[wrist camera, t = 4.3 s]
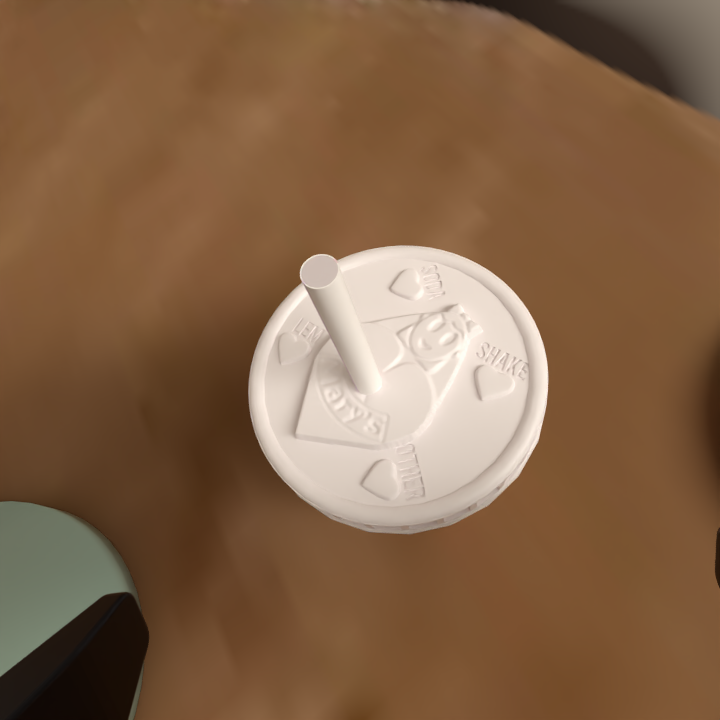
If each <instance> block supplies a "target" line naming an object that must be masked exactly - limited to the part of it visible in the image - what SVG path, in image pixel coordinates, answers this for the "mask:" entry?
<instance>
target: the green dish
mask: <svg viewBox="0 0 720 720" xmlns="http://www.w3.org/2000/svg"><path fill="white" fill-rule="evenodd" d="M118 592H130V593H131V594H132V595H134V597H135V599H136V601H137V604H138V606H139V608H140V611H141V607H140V602H139V598H138V594H137V590H136V588H135V585H134V582H133V580H132V577H131V574H130V572H129V570H128V568H127V566H126V564H125V563H124V561H123V559H122V557H121V555H120V554H119V553H118V551H117V550H116V549H115V547H114V546H113V545H112V543H111V542H110V541H109V540H108V539H107V538H106V537H105V536H104V535H103V534H102V533H101V532H100V531H99V530H98V529H97V528H95V527H94V526H92V525H91V524H89V523H88V522H86V521H85V520H83V519H82V518H80V517H77V516H75V515H73V514H71V513H68V512H65V511H62V510H58V509H54V508H50V507H46V506H41V505H37V504H33V503H26V502H15V501H8V502H0V676H2V675H3V674H4V673H5V672H7V671H8V670H9V669H10V668H12V667H13V666H14V665H15V664H17V663H18V662H19V661H21V660H22V659H23V658H24V657H26V656H27V655H28V654H29V653H31V652H32V651H33V650H35V649H36V648H37V647H38V646H40V645H41V644H42V643H43V642H45V641H46V640H47V639H48V638H50V637H51V636H52V635H54V634H55V633H56V632H57V631H59V630H60V629H61V628H62V627H64V626H65V625H66V624H68V623H69V622H70V621H71V620H73V619H74V618H75V617H76V616H78V615H79V614H80V613H82V612H83V611H84V610H85V609H87V608H88V607H89V606H90V605H92V604H93V603H94V602H95V601H97V600H98V599H99V598H101V597H102V596H104V595H106V594H109V593H118ZM141 613H142V611H141ZM143 668H144V663H143V667H142V671H141V674H140V678H139V682H138V686H137V689H136V693H135V697H134V701H133V705H132V708H131V712H130V716H129V720H134V717H135V713H136V709H137V704H138V700H139V695H140V691H141V685H142V677H143Z"/></svg>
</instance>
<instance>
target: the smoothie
mask: <svg viewBox="0 0 720 720" xmlns="http://www.w3.org/2000/svg"><path fill="white" fill-rule="evenodd" d="M300 278H301V280H302V283H301V284H300V285H299V286H297V287H296V288H295V289H294V290H293V291H292V292H291V293H290V294H289V295H288V296H287V297H286V298H285V299H284V301H283V302H282V303H281V304H280V305H279V307H278V308H277V309H276V311H275V312H274V314H273V315H272V317H271V318H270V320H269V321H268V323H267V325H266V327H265V328H264V330H263V332H262V335H261V337H260V339H259V341H258V344H257V347H256V350H255V352H254V356H253V360H252V364H251V369H250V376H249V391H248V395H249V408H250V414H251V420H252V424H253V427H254V431H255V434H256V437H257V439H258V442H259V444H260V446H261V448H262V450H263V452H264V454H265V456H266V458H267V459H268V461H269V462H270V464H271V465H272V467H273V468H274V470H275V471H276V472H277V473H278V475H279V476H280V477H281V478H282V479H283V481H284V482H285V483H286V484H288V485H289V486H290V487H291V488H292V489H293V490H294V491H295V493H296V494H297V495H298V496H299V497H300V498H301V499H303V500H304V501H306V502H307V503H308V504H310V505H311V506H313V507H314V508H316V509H317V510H318V511H320V512H321V513H323V514H324V515H326V516H327V517H328V518H330V519H332V520H335V521H338V522H341V523H344V524H347V525H349V526H352V527H355V528H358V529H361V530H364V531H367V532H376V533H395V534H414V533H418V532H423V531H427V530H432V529H436V528H441V527H445V526H450V525H453V524H455V523H456V522H458V521H460V520H462V519H464V518H466V517H468V516H469V515H471V514H473V513H475V512H477V511H479V510H480V509H482V508H484V507H486V506H488V505H489V504H490V503H491V502H492V501H493V500H494V499H496V498H497V497H498V496H499V495H500V494H501V493H502V492H503V491H504V490H505V489H506V488H507V487H508V486H509V485H510V484H511V483H512V482H513V481H514V480H515V479H516V478H517V477H518V476H519V474H520V473H521V471H522V469H523V467H524V465H525V464H526V462H527V460H528V458H529V457H530V455H531V453H532V451H533V450H534V448H535V446H536V444H537V442H538V440H539V435H540V431H541V427H542V422H543V418H544V414H545V409H546V405H547V393H548V367H547V359H546V354H545V349H544V345H543V342H542V339H541V336H540V333H539V331H538V329H537V326H536V324H535V322H534V320H533V318H532V317H531V315H530V313H529V311H528V310H527V308H526V307H525V305H524V304H523V303H522V301H521V300H520V299H519V297H518V296H517V295H516V294H515V293H514V292H513V291H512V290H511V288H509V287H508V286H507V285H506V284H505V283H504V282H503V281H502V280H501V279H499V278H498V277H497V276H496V275H494V274H493V273H492V272H490V271H489V270H487V269H485V268H484V267H482V266H480V265H479V264H477V263H475V262H473V261H471V260H469V259H467V258H464V257H462V256H459V255H456V254H454V253H450V252H447V251H443V250H439V249H434V248H429V247H420V246H389V247H382V248H375V249H371V250H366V251H362V252H359V253H356V254H352V255H349V256H347V257H344V258H342V259H339V260H337V261H336V259H334V258H333V257H332V256H329V255H326V254H319V255H315V256H312V257H311V258H309V259H308V260H306V261H305V263H304V264H303V265H302V267H301V270H300Z"/></svg>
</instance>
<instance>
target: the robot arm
mask: <svg viewBox="0 0 720 720" xmlns="http://www.w3.org/2000/svg"><path fill="white" fill-rule="evenodd" d="M715 575H716V579H717V583H718V585H719V588H720V528H719V529H718V531H717V538H716V559H715ZM148 643H149V631H148V627H147V625H146V622H145V620H144V618H143V615H142V613H141V611H140V608H139V606H138V604H137V601H136V599H135V597H134V595H132V594H131V593H130V592H118V593H109V594H106V595H104V596H102V597H101V598H99V599H98V600H97V601H95V602H94V603H93V604H92V605H90V606H89V607H88V608H87V609H85V610H84V611H83V612H82V613H80V614H79V615H78V616H76V617H75V618H74V619H73V620H71V621H70V622H69V623H68V624H66V625H65V626H64V627H62V628H61V629H60V630H59V631H57V632H56V633H55V634H54V635H52V636H51V637H50V638H48V639H47V640H46V641H45V642H43V643H42V644H41V645H40V646H38V647H37V648H36V649H35V650H33V651H32V652H31V653H29V654H28V655H27V656H26V657H24V658H23V659H22V660H21V661H19V662H18V663H17V664H15V665H14V666H13V667H12V668H10V669H9V670H8V671H7V672H5V673H4V674H3V675H2V676H0V720H129V716H130V712H131V708H132V705H133V701H134V697H135V693H136V689H137V686H138V682H139V678H140V674H141V671H142V667H143V663H144V659H145V655H146V652H147V648H148Z"/></svg>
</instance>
